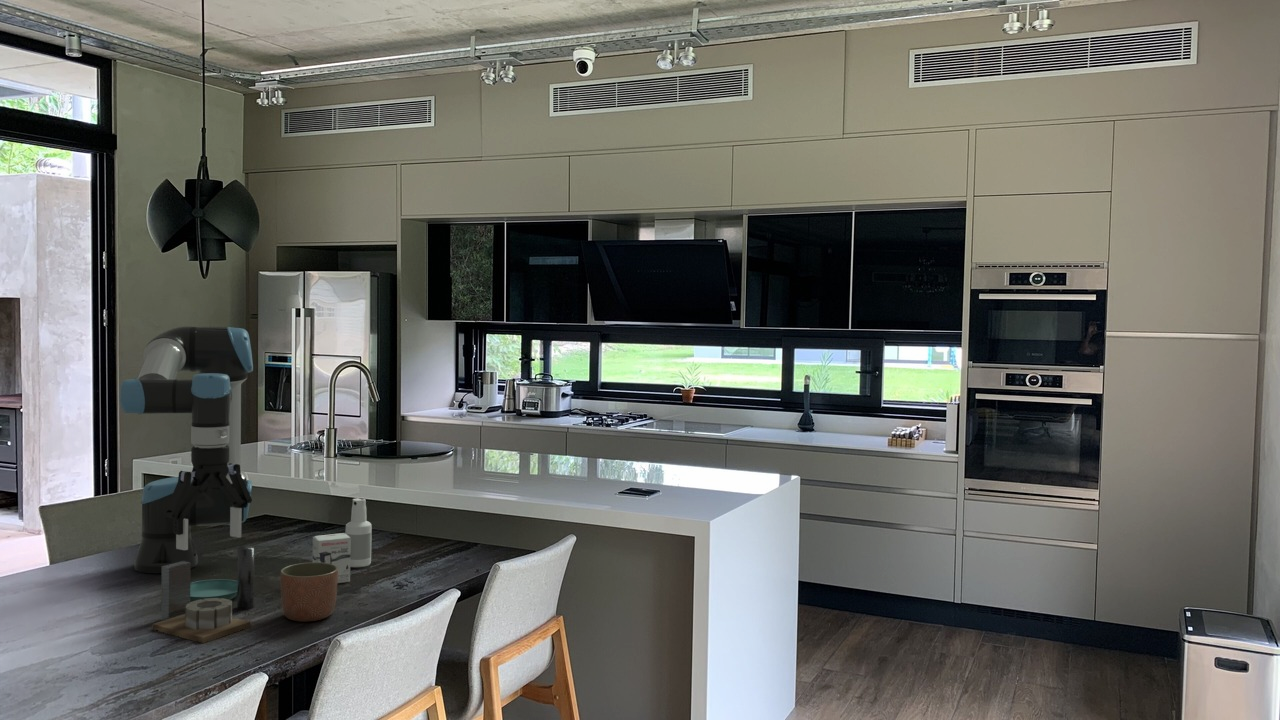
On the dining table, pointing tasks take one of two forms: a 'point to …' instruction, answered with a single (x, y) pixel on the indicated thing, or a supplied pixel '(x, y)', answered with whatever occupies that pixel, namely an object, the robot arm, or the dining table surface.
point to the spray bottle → (359, 535)
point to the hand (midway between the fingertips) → (209, 542)
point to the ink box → (334, 553)
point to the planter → (308, 591)
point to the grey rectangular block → (175, 589)
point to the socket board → (198, 634)
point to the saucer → (213, 589)
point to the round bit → (245, 578)
